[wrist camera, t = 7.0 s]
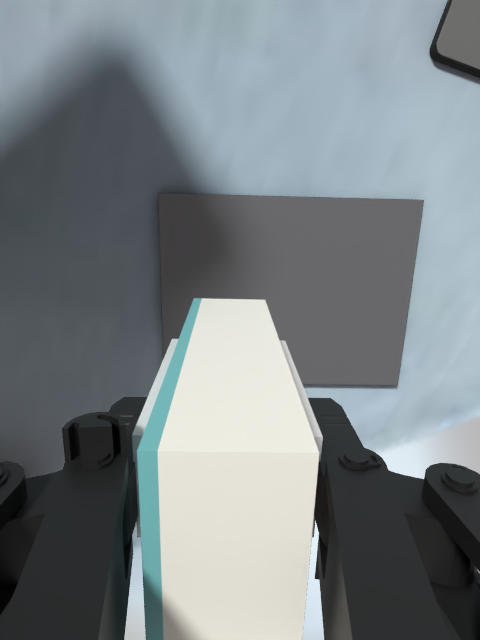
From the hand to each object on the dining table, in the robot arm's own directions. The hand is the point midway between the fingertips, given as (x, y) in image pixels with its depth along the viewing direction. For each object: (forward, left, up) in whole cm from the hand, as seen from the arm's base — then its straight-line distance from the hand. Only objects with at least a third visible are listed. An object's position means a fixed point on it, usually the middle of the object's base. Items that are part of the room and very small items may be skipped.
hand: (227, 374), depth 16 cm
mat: (+4, 0, -14) cm, 14 cm away
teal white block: (0, 0, -1) cm, 1 cm away
